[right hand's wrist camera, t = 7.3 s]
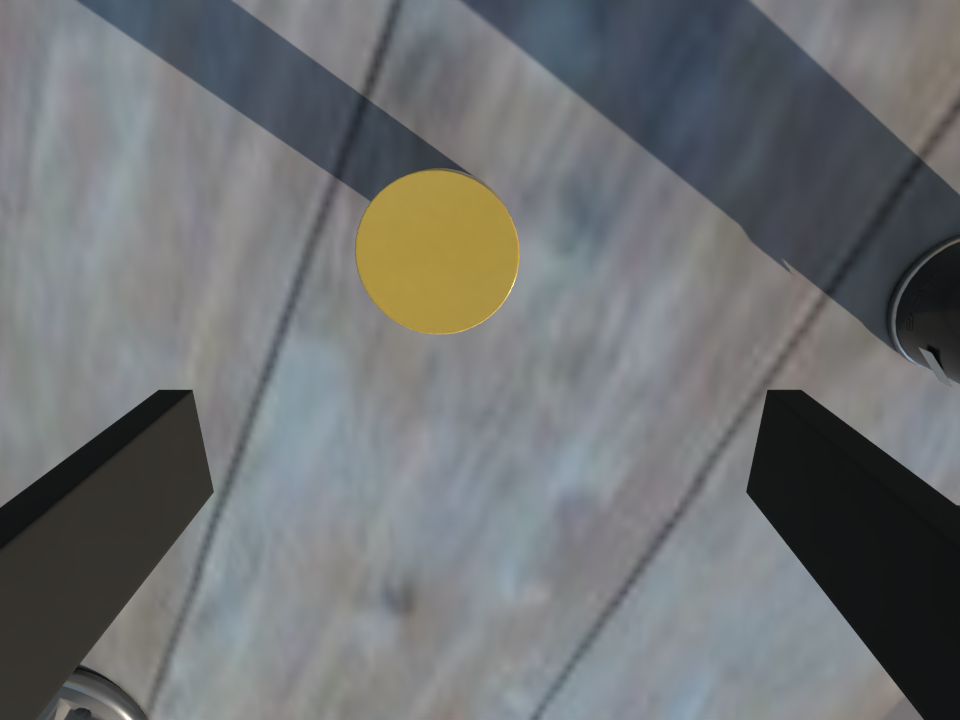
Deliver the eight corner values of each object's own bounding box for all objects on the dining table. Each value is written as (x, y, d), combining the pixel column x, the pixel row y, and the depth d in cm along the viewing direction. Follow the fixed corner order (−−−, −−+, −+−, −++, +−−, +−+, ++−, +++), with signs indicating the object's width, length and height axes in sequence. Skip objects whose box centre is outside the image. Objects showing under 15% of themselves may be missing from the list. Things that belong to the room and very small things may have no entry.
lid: (339, 211, 21) (323, 217, 19) (474, 139, 20) (474, 137, 18) (412, 339, 23) (404, 359, 21) (538, 279, 22) (545, 293, 20)
